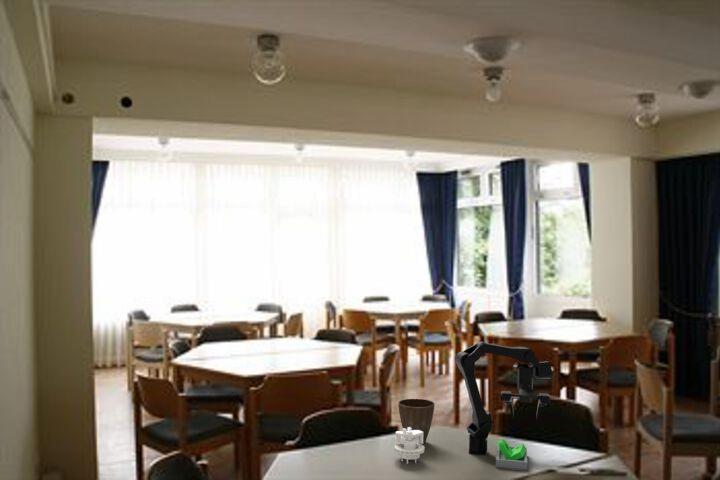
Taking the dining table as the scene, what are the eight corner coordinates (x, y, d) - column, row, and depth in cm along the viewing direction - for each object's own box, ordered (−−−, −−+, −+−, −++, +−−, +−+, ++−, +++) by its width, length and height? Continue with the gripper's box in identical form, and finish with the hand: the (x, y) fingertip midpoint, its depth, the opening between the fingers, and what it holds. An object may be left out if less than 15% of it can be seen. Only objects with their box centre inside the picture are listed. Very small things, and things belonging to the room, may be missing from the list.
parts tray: (495, 467, 230) (495, 459, 230) (497, 453, 246) (497, 445, 246) (527, 470, 227) (527, 462, 227) (526, 455, 244) (526, 447, 244)
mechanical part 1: (400, 467, 229) (400, 434, 229) (390, 456, 241) (390, 425, 241) (429, 464, 232) (429, 432, 232) (417, 454, 244) (418, 423, 244)
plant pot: (399, 435, 268) (399, 397, 268) (434, 437, 266) (435, 399, 266) (396, 446, 253) (396, 406, 253) (434, 448, 251) (434, 408, 251)
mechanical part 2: (522, 457, 230) (510, 436, 232) (508, 464, 232) (496, 444, 234) (527, 447, 241) (516, 428, 243) (514, 454, 243) (502, 435, 245)
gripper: (500, 382, 246) (500, 422, 245) (551, 385, 241) (550, 426, 241) (501, 376, 256) (501, 415, 256) (549, 379, 252) (549, 418, 252)
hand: (525, 418), depth 251 cm, fingers open, 9 cm apart
